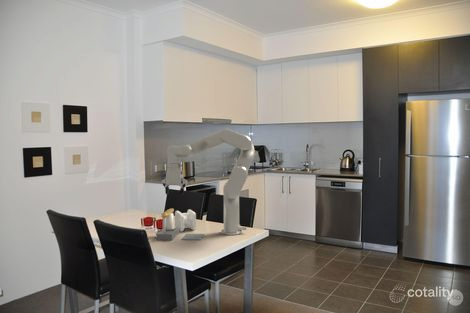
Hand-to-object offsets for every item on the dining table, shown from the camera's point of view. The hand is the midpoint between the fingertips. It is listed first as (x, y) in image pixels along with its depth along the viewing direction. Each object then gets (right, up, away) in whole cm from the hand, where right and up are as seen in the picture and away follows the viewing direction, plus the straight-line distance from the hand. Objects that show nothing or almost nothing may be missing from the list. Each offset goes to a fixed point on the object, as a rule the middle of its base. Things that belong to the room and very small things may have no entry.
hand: (174, 194), depth 230 cm
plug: (-3, -24, -4) cm, 25 cm away
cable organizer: (+5, -24, +10) cm, 26 cm away
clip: (-3, -11, -8) cm, 14 cm away
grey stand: (-3, -24, -7) cm, 25 cm away
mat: (+12, -24, -9) cm, 28 cm away
